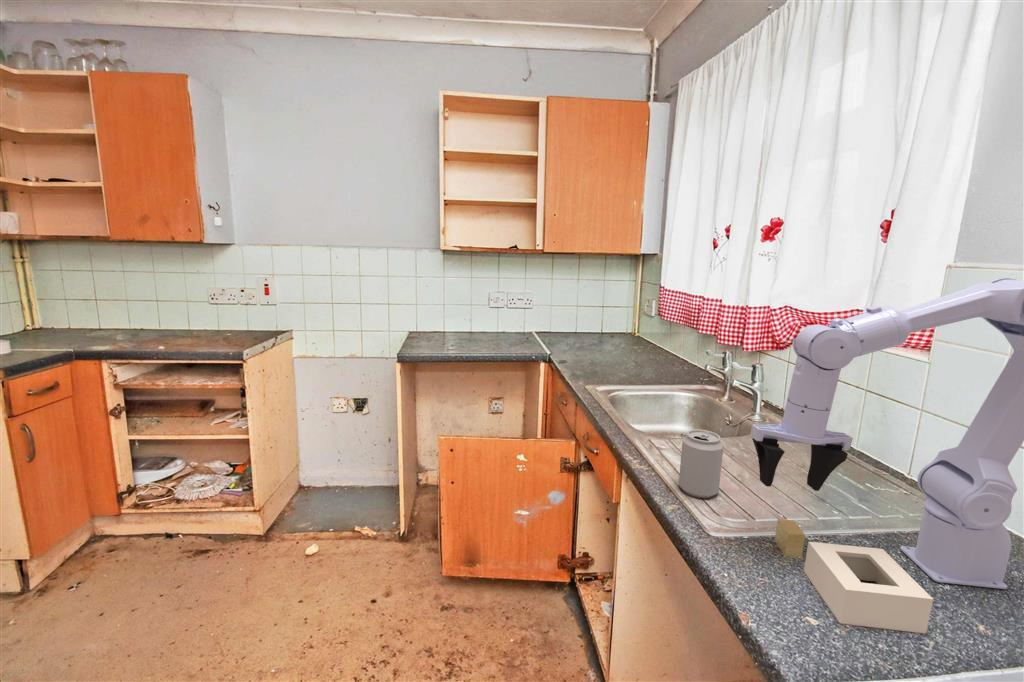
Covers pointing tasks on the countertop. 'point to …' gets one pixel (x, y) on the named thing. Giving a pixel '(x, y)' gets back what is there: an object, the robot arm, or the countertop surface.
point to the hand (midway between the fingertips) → (788, 485)
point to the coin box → (867, 587)
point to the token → (789, 538)
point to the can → (701, 463)
